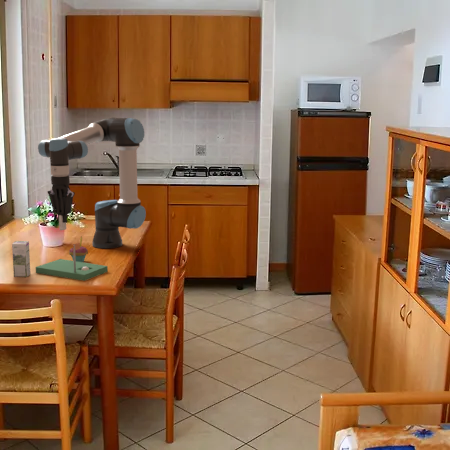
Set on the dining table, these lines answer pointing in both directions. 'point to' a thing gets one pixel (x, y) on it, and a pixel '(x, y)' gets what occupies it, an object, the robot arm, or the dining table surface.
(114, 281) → the dining table surface
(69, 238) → the dining table surface
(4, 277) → the dining table surface
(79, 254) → the cupcake
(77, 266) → the putting mat
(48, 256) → the dining table surface
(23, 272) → the syrup box
